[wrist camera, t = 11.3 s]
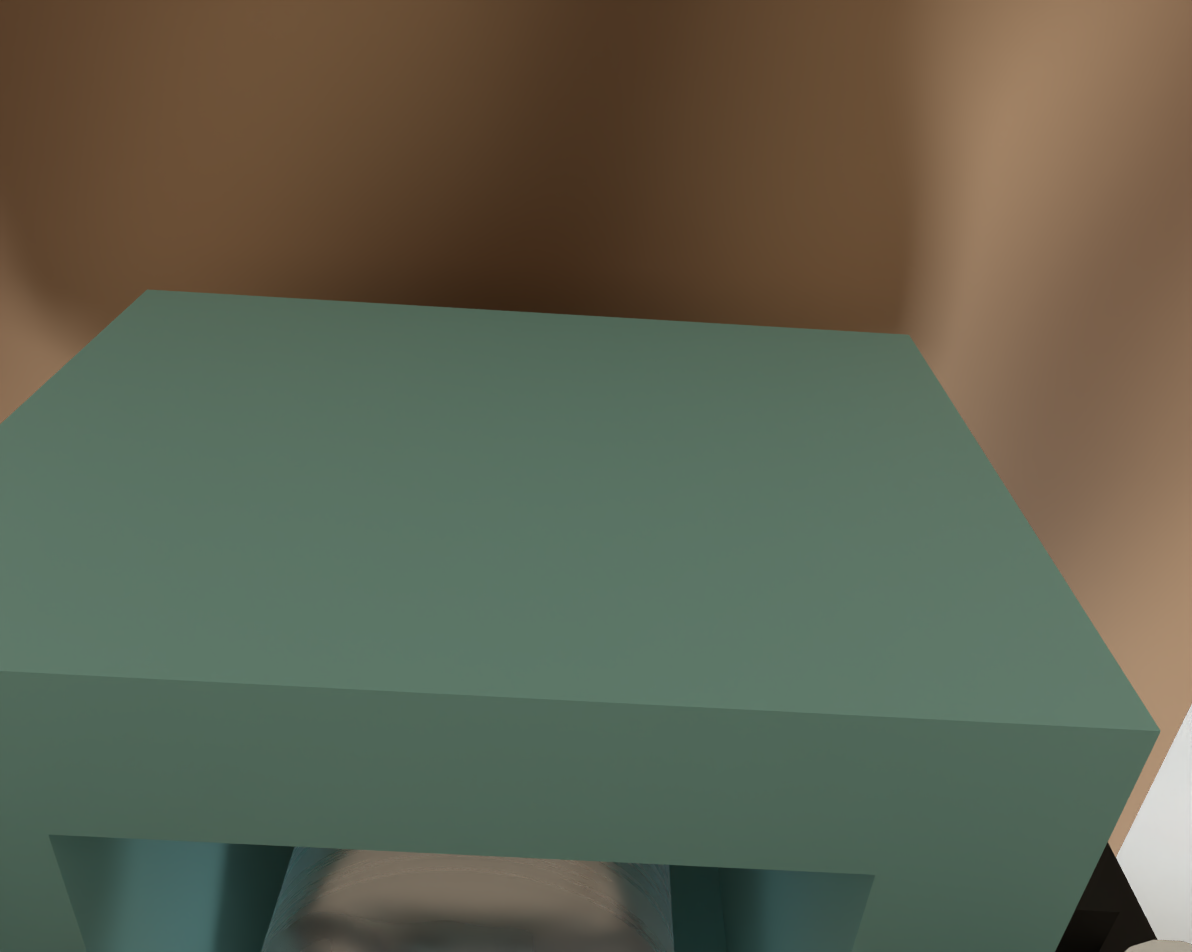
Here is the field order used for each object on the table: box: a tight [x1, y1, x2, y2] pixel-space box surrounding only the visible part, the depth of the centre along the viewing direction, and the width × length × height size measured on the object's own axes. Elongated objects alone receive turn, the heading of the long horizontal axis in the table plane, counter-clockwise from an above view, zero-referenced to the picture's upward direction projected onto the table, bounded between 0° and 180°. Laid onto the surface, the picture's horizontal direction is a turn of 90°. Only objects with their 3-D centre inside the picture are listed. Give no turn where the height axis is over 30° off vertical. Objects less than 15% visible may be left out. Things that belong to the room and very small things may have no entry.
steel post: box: [261, 847, 674, 952], centre depth 10 cm, size 3×3×6 cm
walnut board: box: [0, 0, 1192, 857], centre depth 13 cm, size 18×18×2 cm
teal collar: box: [0, 289, 1161, 952], centre depth 9 cm, size 7×7×5 cm
